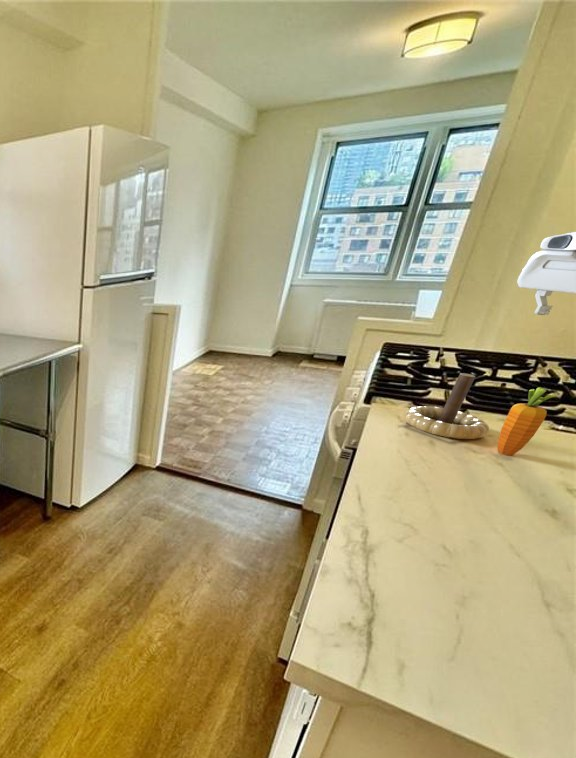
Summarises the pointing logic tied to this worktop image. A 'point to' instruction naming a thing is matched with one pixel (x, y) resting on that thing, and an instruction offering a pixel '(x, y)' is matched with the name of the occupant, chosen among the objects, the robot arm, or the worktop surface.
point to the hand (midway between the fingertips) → (573, 319)
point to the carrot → (522, 423)
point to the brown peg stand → (456, 398)
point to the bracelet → (460, 429)
